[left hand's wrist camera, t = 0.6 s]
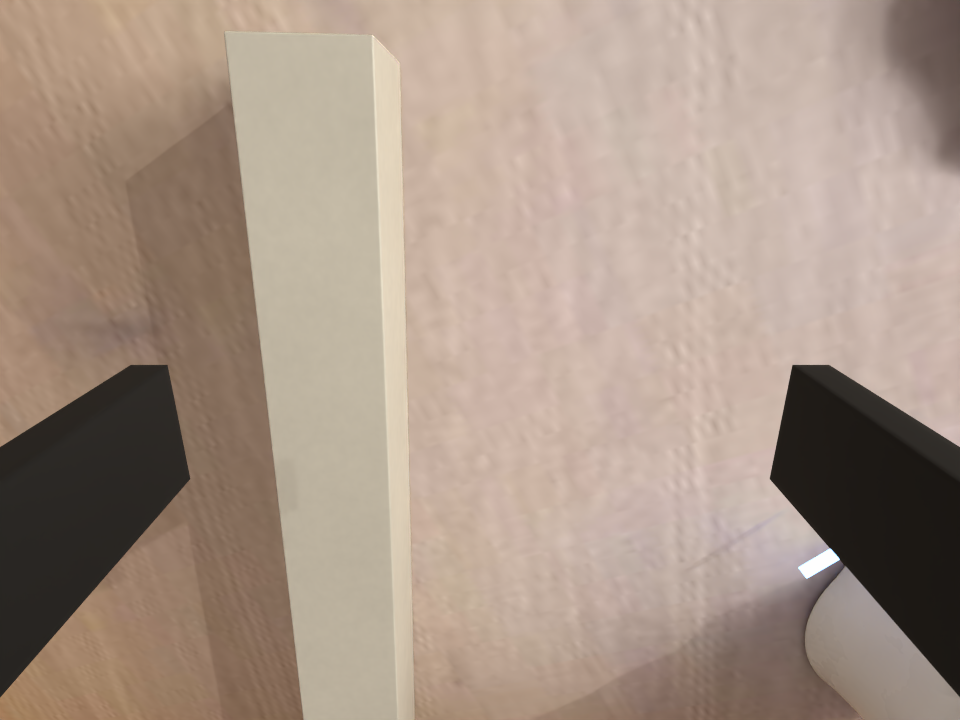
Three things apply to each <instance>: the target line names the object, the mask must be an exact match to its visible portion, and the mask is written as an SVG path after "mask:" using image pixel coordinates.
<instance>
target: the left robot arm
mask: <svg viewBox="0 0 960 720" xmlns="http://www.w3.org/2000/svg"><path fill="white" fill-rule="evenodd" d="M189 480H190V475H189V470H188V465H187V460H186V455H185V450H184V445H183V440H182V435H181V430H180V425H179V420H178V415H177V410H176V405H175V400H174V395H173V390H172V385H171V380H170V375H169V370H168V365H130V366H129V367H127V368H125V369H124V370H122V371H121V372H119V373H118V374H116V375H114V376H113V377H111V378H110V379H108V380H106V381H105V382H103V383H102V384H100V385H98V386H97V387H95V388H94V389H92V390H90V391H89V392H87V393H86V394H84V395H83V396H81V397H79V398H78V399H76V400H75V401H73V402H71V403H70V404H68V405H67V406H65V407H63V408H62V409H60V410H59V411H57V412H55V413H54V414H52V415H51V416H49V417H48V418H46V419H44V420H43V421H41V422H40V423H38V424H36V425H35V426H33V427H32V428H30V429H28V430H27V431H25V432H24V433H22V434H20V435H19V436H17V437H16V438H14V439H13V440H11V441H9V442H8V443H6V444H5V445H3V446H1V447H0V697H1V696H2V695H3V694H4V692H5V691H6V690H7V689H8V688H9V687H10V685H11V684H12V683H13V682H14V681H15V680H16V679H17V677H18V676H19V675H20V674H21V673H22V672H23V671H24V669H25V668H26V667H27V666H28V665H29V664H30V662H31V661H32V660H33V659H34V658H35V657H36V656H37V654H38V653H39V652H40V651H41V650H42V649H43V648H44V646H45V645H46V644H47V643H48V642H49V641H50V639H51V638H52V637H53V636H54V635H55V634H56V633H57V631H58V630H59V629H60V628H61V627H62V626H63V625H64V623H65V622H66V621H67V620H68V619H69V618H70V616H71V615H72V614H73V613H74V612H75V611H76V610H77V608H78V607H79V606H80V605H81V604H82V603H83V602H84V600H85V599H86V598H87V597H88V596H89V595H90V594H91V592H92V591H93V590H94V589H95V588H96V587H97V585H98V584H99V583H100V582H101V581H102V580H103V579H104V577H105V576H106V575H107V574H108V573H109V572H110V571H111V569H112V568H113V567H114V566H115V565H116V564H117V562H118V561H119V560H120V559H121V558H122V557H123V556H124V554H125V553H126V552H127V551H128V550H129V549H130V548H131V546H132V545H133V544H134V543H135V542H136V541H137V539H138V538H139V537H140V536H141V535H142V534H143V533H144V531H145V530H146V529H147V528H148V527H149V526H150V525H151V523H152V522H153V521H154V520H155V519H156V518H157V516H158V515H159V514H160V513H161V512H162V511H163V510H164V508H165V507H166V506H167V505H168V504H169V503H170V502H171V500H172V499H173V498H174V497H175V496H176V495H177V493H178V492H179V491H180V490H181V489H182V488H183V487H184V485H185V484H186V483H187V482H188V481H189ZM770 480H771V481H772V482H773V483H774V484H775V485H776V487H777V488H778V489H779V490H780V491H781V492H782V493H783V495H784V496H785V497H786V498H787V499H788V500H789V502H790V503H791V504H792V505H793V506H794V507H795V508H796V510H797V511H798V512H799V513H800V514H801V515H802V516H803V518H804V519H805V520H806V521H807V522H808V523H809V525H810V526H811V527H812V528H813V529H814V530H815V531H816V533H817V534H818V535H819V536H820V537H821V538H822V539H823V541H824V542H825V543H826V544H827V545H828V546H829V548H830V549H831V550H832V551H833V552H834V553H835V554H836V556H837V557H838V558H839V559H840V560H841V561H842V562H843V564H844V565H845V566H846V567H847V568H848V569H849V571H850V572H851V573H852V574H853V575H854V576H855V577H856V579H857V580H858V581H859V582H860V583H861V584H862V585H863V587H864V588H865V589H866V590H867V591H868V592H869V594H870V595H871V596H872V597H873V598H874V599H875V600H876V602H877V603H878V604H879V605H880V606H881V607H882V608H883V610H884V611H885V612H886V613H887V614H888V615H889V616H890V618H891V619H892V620H893V621H894V622H895V623H896V625H897V626H898V627H899V628H900V629H901V630H902V631H903V633H904V634H905V635H906V636H907V637H908V638H909V639H910V641H911V642H912V643H913V644H914V645H915V646H916V648H917V649H918V650H919V651H920V652H921V653H922V654H923V656H924V657H925V658H926V659H927V660H928V661H929V662H930V664H931V665H932V666H933V667H934V668H935V669H936V671H937V672H938V673H939V674H940V675H941V676H942V677H943V679H944V680H945V681H946V682H947V683H948V684H949V685H950V687H951V688H952V689H953V690H954V691H955V692H956V694H957V695H958V696H959V697H960V447H959V446H957V445H955V444H954V443H952V442H951V441H949V440H947V439H946V438H944V437H943V436H941V435H940V434H938V433H936V432H935V431H933V430H932V429H930V428H928V427H927V426H925V425H924V424H922V423H920V422H919V421H917V420H916V419H914V418H912V417H911V416H909V415H908V414H906V413H905V412H903V411H901V410H900V409H898V408H897V407H895V406H893V405H892V404H890V403H889V402H887V401H885V400H884V399H882V398H881V397H879V396H877V395H876V394H874V393H873V392H871V391H870V390H868V389H866V388H865V387H863V386H862V385H860V384H858V383H857V382H855V381H854V380H852V379H850V378H849V377H847V376H846V375H844V374H842V373H841V372H839V371H838V370H836V369H835V368H833V367H831V366H830V365H792V370H791V375H790V380H789V385H788V390H787V395H786V400H785V405H784V410H783V415H782V420H781V425H780V430H779V435H778V440H777V445H776V450H775V455H774V460H773V465H772V470H771V475H770Z"/></svg>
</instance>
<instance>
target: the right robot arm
mask: <svg viewBox="0 0 960 720" xmlns="http://www.w3.org/2000/svg"><path fill="white" fill-rule="evenodd" d="M838 560H840V559H839V558H838V557H837V556H836V554H835V553H834V552H833V551H832V550H831V549H829V550H827V551H825V552H824V553H822V554H820V555H819V556H817V557H815V558H814V559H812V560H810V561H808V562H807V563H805V564H803V565H802V566H800V567H798V568H799V569H800V570H801V572H802V573H803V574H804V576H805V577H806V578H809V577H810V576H812V575H814V574H815V573H817V572H819V571H821V570H822V569H824V568H826V567H828V566H829V565H831V564H833V563H834V562H836V561H838ZM805 649H806V654H807V657H808V660H809V662H810V664H811V666H812V668H813V669H814V671H815V672H816V673H817V675H818V676H819V677H820V678H821V679H822V680H823V681H825V682H826V683H827V684H828V685H829V686H830V687H832V688H833V689H834V690H835V691H836V692H837V693H838V694H839V695H840V696H841V697H842V698H844V699H845V700H846V701H847V702H848V703H849V704H850V705H851V706H852V708H853V709H854V710H855V711H856V712H857V713H858V714H859V715H860V716H861V717H862V718H863V719H864V720H960V697H959V696H958V695H957V694H956V692H955V691H954V690H953V689H952V688H951V687H950V685H949V684H948V683H947V682H946V681H945V680H944V679H943V677H942V676H941V675H940V674H939V673H938V672H937V671H936V669H935V668H934V667H933V666H932V665H931V664H930V662H929V661H928V660H927V659H926V658H925V657H924V656H923V654H922V653H921V652H920V651H919V650H918V649H917V648H916V646H915V645H914V644H913V643H912V642H911V641H910V639H909V638H908V637H907V636H906V635H905V634H904V633H903V631H902V630H901V629H900V628H899V627H898V626H897V625H896V623H895V622H894V621H893V620H892V619H891V618H890V616H889V615H888V614H887V613H886V612H885V611H884V610H883V608H882V607H881V606H880V605H879V604H878V603H877V602H876V600H875V599H874V598H873V597H872V596H871V595H870V594H869V592H868V591H867V590H866V589H865V588H864V587H863V585H862V584H861V583H860V582H859V581H858V580H857V579H856V577H855V576H854V575H853V574H852V573H851V572H850V571H849V569H848V568H847V567H846V566H845V567H844V568H843V570H842V571H841V572H840V573H839V575H838V576H837V577H836V578H835V579H834V580H833V581H832V583H831V584H830V585H829V586H828V587H827V588H826V589H825V591H824V592H823V593H822V594H821V596H820V597H819V599H818V600H817V602H816V604H815V605H814V607H813V609H812V611H811V613H810V616H809V619H808V622H807V626H806V630H805Z"/></svg>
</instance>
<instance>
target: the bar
mask: <svg viewBox="0 0 960 720" xmlns="http://www.w3.org/2000/svg"><path fill="white" fill-rule="evenodd" d="M224 37H225V46H226V55H227V63H228V72H229V81H230V89H231V98H232V107H233V115H234V124H235V133H236V141H237V150H238V159H239V167H240V176H241V185H242V193H243V202H244V211H245V219H246V228H247V236H248V245H249V254H250V262H251V271H252V280H253V288H254V297H255V306H256V314H257V323H258V332H259V340H260V349H261V358H262V366H263V375H264V384H265V392H266V401H267V410H268V418H269V427H270V436H271V444H272V453H273V462H274V470H275V479H276V488H277V496H278V505H279V514H280V522H281V531H282V540H283V548H284V557H285V566H286V574H287V583H288V591H289V600H290V609H291V617H292V626H293V635H294V643H295V652H296V661H297V669H298V678H299V687H300V695H301V704H302V713H303V720H415V700H414V656H413V613H412V569H411V525H410V482H409V438H408V394H407V350H406V307H405V263H404V219H403V175H402V132H401V88H400V63H399V62H398V60H397V59H396V58H395V57H394V56H393V55H392V54H391V53H390V52H389V51H388V50H387V49H386V48H385V47H384V46H383V45H382V44H381V43H380V42H379V41H378V40H377V39H376V38H375V37H374V36H373V35H367V34H328V33H288V32H249V31H225V32H224Z"/></svg>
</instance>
